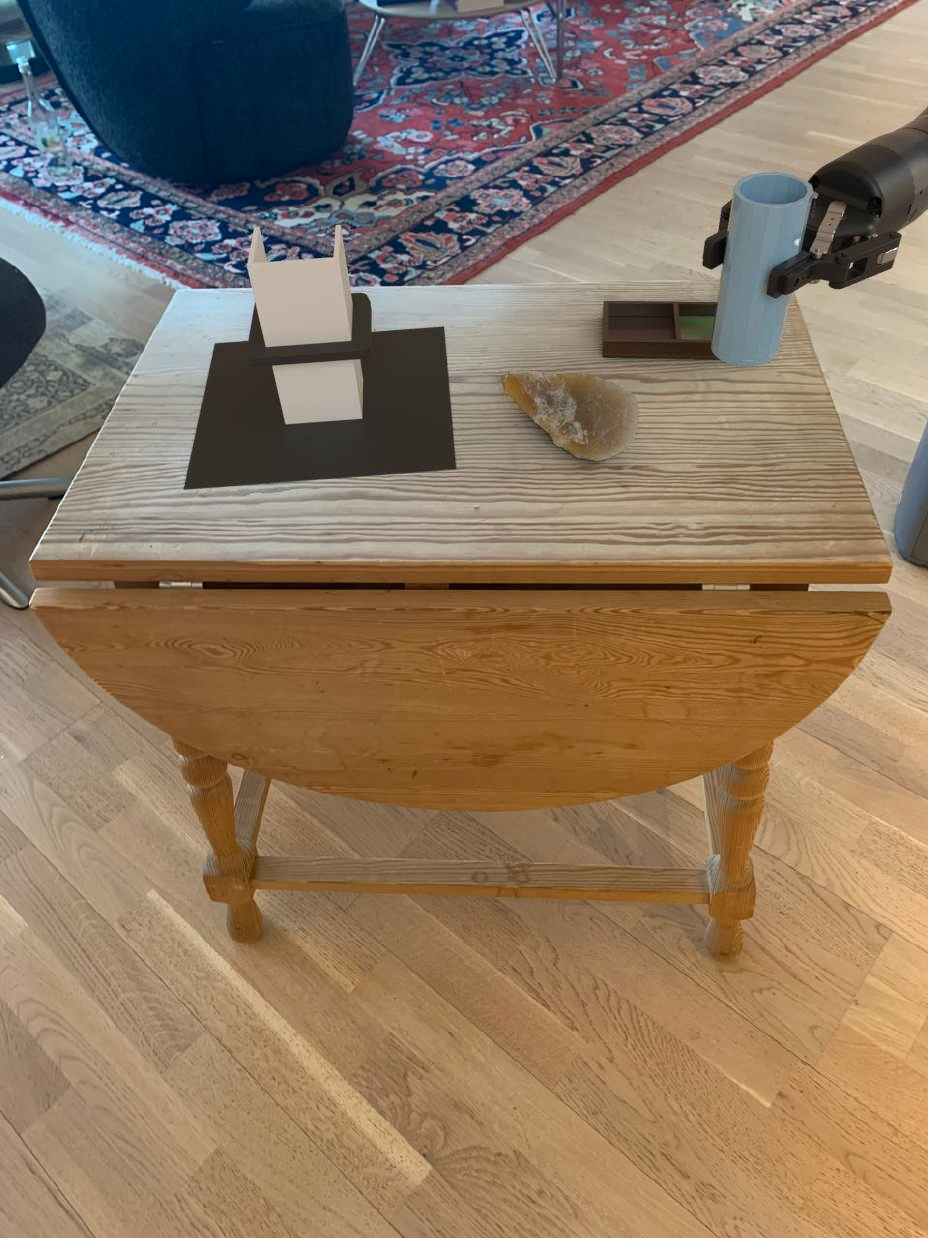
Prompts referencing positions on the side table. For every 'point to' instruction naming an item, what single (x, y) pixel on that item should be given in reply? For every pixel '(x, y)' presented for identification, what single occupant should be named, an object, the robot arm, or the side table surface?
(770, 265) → the cup
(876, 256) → the robot arm
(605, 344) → the tray
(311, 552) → the side table surface
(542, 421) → the stone
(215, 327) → the side table surface
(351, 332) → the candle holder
